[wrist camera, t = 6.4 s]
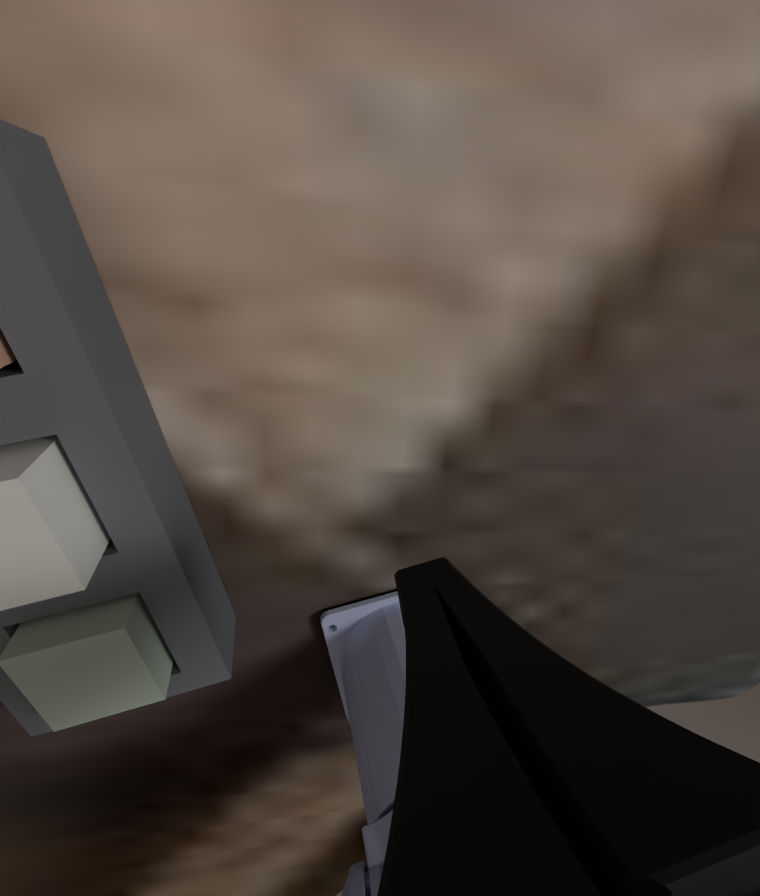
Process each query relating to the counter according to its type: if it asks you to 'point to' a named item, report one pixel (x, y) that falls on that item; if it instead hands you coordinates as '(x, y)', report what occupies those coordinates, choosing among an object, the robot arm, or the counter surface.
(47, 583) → the cream cube
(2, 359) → the brown cube
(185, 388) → the counter surface
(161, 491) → the keypad
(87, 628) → the sage key
